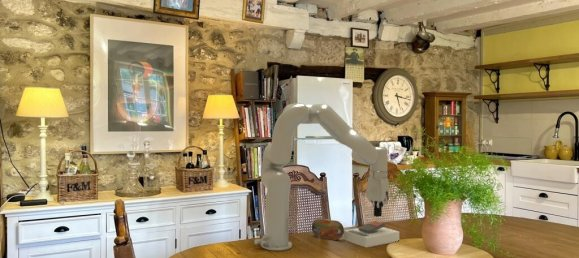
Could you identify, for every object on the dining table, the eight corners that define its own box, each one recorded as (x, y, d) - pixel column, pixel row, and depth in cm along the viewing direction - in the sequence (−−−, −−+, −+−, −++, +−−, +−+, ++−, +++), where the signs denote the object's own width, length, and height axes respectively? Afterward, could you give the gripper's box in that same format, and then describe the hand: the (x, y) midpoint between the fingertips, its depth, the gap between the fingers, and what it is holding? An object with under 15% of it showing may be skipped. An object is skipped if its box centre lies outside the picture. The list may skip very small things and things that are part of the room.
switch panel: (366, 247, 176) (366, 236, 176) (343, 239, 188) (343, 229, 188) (399, 240, 188) (399, 230, 188) (375, 233, 199) (376, 223, 199)
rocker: (368, 233, 183) (368, 230, 182) (358, 230, 188) (358, 227, 187) (384, 226, 188) (384, 223, 188) (374, 223, 193) (374, 220, 193)
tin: (311, 236, 193) (311, 217, 193) (314, 234, 195) (315, 216, 195) (341, 242, 184) (341, 222, 184) (344, 240, 187) (345, 221, 187)
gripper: (360, 173, 193) (359, 213, 194) (385, 177, 181) (384, 220, 181) (372, 172, 198) (371, 212, 198) (397, 176, 185) (396, 218, 186)
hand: (377, 216), depth 190 cm, fingers closed
